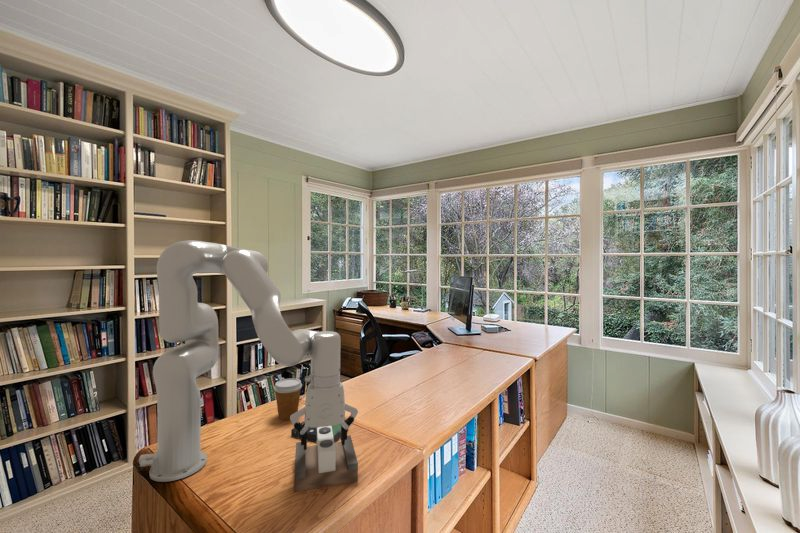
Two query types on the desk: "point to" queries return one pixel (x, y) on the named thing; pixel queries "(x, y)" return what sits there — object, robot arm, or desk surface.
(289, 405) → the disposable coffee cup
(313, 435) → the disk drive
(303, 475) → the display stand
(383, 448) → the desk surface
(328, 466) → the white rectangular block
